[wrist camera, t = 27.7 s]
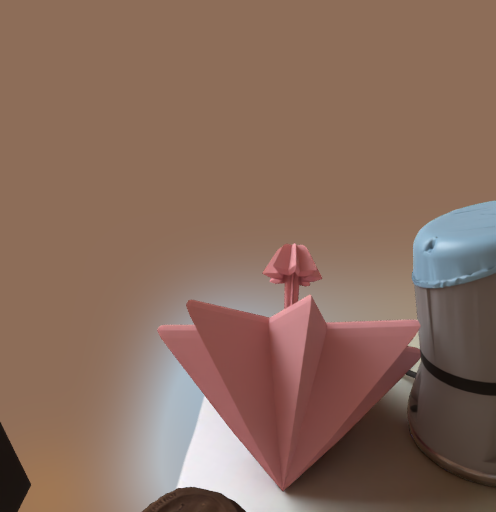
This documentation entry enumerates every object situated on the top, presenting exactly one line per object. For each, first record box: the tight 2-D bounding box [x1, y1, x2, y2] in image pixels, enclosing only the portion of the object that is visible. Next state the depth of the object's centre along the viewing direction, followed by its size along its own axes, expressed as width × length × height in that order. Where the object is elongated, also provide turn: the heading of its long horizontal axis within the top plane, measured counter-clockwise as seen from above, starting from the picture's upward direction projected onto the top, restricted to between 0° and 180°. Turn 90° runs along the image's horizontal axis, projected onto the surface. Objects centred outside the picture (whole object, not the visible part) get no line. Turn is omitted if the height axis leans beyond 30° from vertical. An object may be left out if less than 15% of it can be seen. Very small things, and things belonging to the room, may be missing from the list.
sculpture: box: [157, 243, 421, 491], centre depth 48 cm, size 28×20×21 cm
